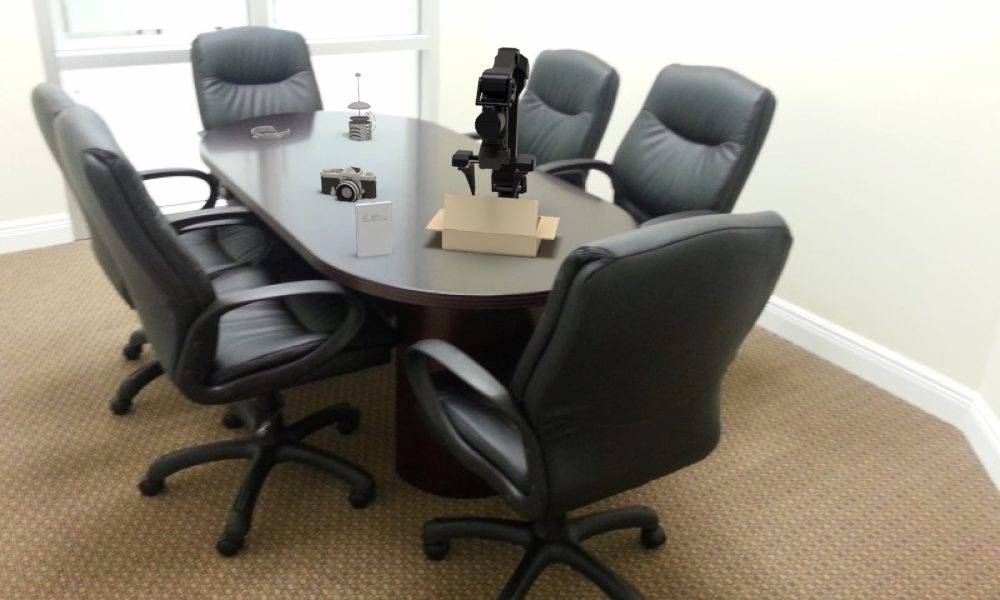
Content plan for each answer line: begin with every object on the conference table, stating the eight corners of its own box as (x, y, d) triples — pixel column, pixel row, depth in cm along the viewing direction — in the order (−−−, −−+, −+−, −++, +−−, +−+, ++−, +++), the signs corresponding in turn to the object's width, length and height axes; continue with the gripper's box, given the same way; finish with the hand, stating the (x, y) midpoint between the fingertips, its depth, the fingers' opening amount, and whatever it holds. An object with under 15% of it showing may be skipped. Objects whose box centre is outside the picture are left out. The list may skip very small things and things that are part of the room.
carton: (440, 227, 204) (440, 208, 202) (558, 236, 200) (560, 217, 198) (425, 248, 190) (425, 228, 188) (552, 258, 186) (554, 238, 184)
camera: (313, 203, 221) (310, 167, 217) (325, 194, 229) (323, 159, 225) (369, 207, 219) (367, 171, 215) (379, 199, 227) (378, 164, 223)
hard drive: (356, 256, 184) (354, 203, 179) (391, 252, 187) (390, 200, 182) (358, 258, 182) (356, 205, 178) (393, 254, 186) (392, 202, 181)
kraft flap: (445, 193, 187) (445, 193, 186) (538, 200, 184) (538, 200, 183) (442, 228, 187) (442, 228, 187) (535, 235, 184) (535, 235, 184)
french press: (360, 141, 294) (357, 70, 284) (384, 145, 287) (382, 73, 278) (340, 145, 286) (337, 72, 276) (364, 150, 280) (361, 76, 270)
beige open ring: (260, 138, 294) (259, 124, 292) (297, 140, 292) (296, 126, 290) (243, 146, 281) (242, 132, 279) (281, 149, 279) (280, 134, 277)
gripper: (446, 134, 175) (446, 204, 181) (532, 139, 173) (529, 210, 179) (456, 124, 185) (456, 191, 192) (537, 129, 183) (534, 196, 189)
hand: (493, 197), depth 188 cm, fingers open, 9 cm apart
